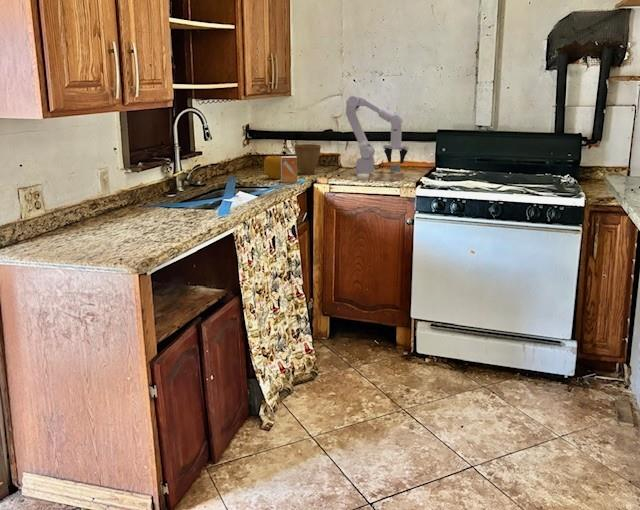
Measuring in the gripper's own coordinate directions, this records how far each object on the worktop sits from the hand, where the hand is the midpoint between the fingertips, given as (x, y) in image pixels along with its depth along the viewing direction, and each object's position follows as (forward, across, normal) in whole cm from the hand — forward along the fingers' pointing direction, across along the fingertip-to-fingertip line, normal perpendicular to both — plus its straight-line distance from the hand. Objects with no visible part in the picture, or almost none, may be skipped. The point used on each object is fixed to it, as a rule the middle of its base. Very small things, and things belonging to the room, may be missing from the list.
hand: (395, 162), depth 347 cm
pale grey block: (+7, -7, -22) cm, 24 cm away
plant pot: (+7, -45, -20) cm, 50 cm away
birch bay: (+7, +3, -15) cm, 17 cm away
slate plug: (+7, 0, 0) cm, 7 cm away
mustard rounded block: (+7, -48, -46) cm, 67 cm away
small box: (+7, -35, -50) cm, 61 cm away
